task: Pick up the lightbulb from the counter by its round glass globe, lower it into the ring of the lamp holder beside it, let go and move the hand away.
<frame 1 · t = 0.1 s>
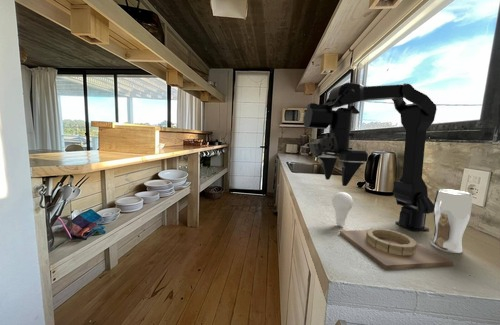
hand: (335, 182, 63), 14 cm above the counter, tool pointing down, fingers open, 9 cm apart
beer glass: (445, 248, 56), on the counter
lamp holder: (389, 247, 55), on the counter
lightbulb: (340, 226, 68), on the counter
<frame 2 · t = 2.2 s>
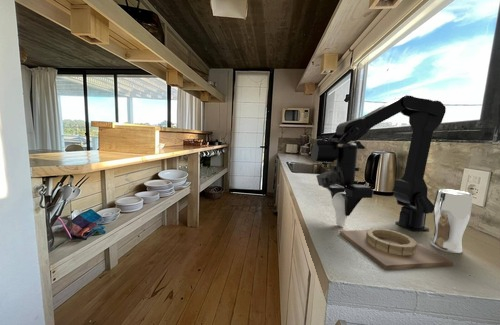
hand: (341, 212, 67), 5 cm above the counter, tool pointing down, fingers closed on lightbulb, 6 cm apart
lightbulb: (340, 226, 68), on the counter, touching gripper
everything else where it was.
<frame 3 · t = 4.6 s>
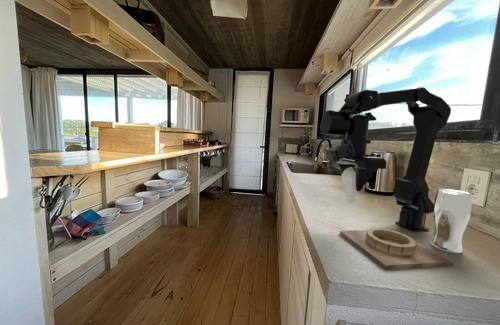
hand: (351, 188, 64), 13 cm above the counter, tool pointing down, fingers closed on lightbulb, 6 cm apart
lightbulb: (350, 203, 64), point 8 cm above the counter, touching gripper
everything else where it was.
when the fingers open (6 cm above the counter, at t = 7.0 s): lightbulb stays where it is, resting on lamp holder.
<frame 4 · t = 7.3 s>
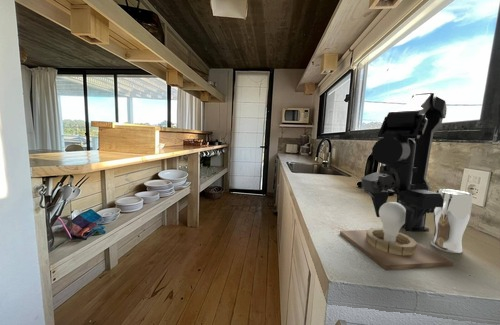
hand: (391, 223, 54), 6 cm above the counter, tool pointing down, fingers open, 9 cm apart
lightbulb: (388, 244, 55), point 1 cm above the counter, touching lamp holder
everything else where it was.
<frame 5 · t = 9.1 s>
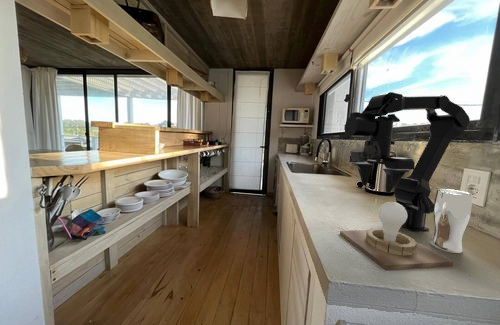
hand: (375, 188, 65), 13 cm above the counter, tool pointing down, fingers open, 9 cm apart
nothing on the counter moved.
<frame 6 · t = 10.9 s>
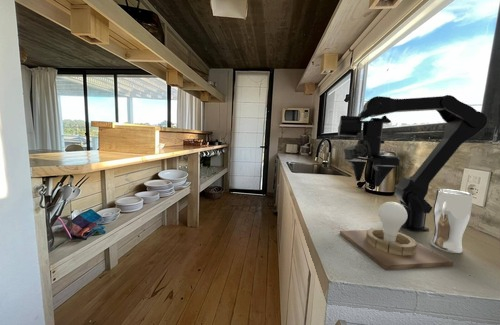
hand: (366, 183, 72), 13 cm above the counter, tool pointing down, fingers open, 9 cm apart
nothing on the counter moved.
at the end: lightbulb 0.2 cm off-centre on the lamp holder, point 0.8 cm above the lamp holder's base; lightbulb tilted 0°; the gripper is holding nothing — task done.
